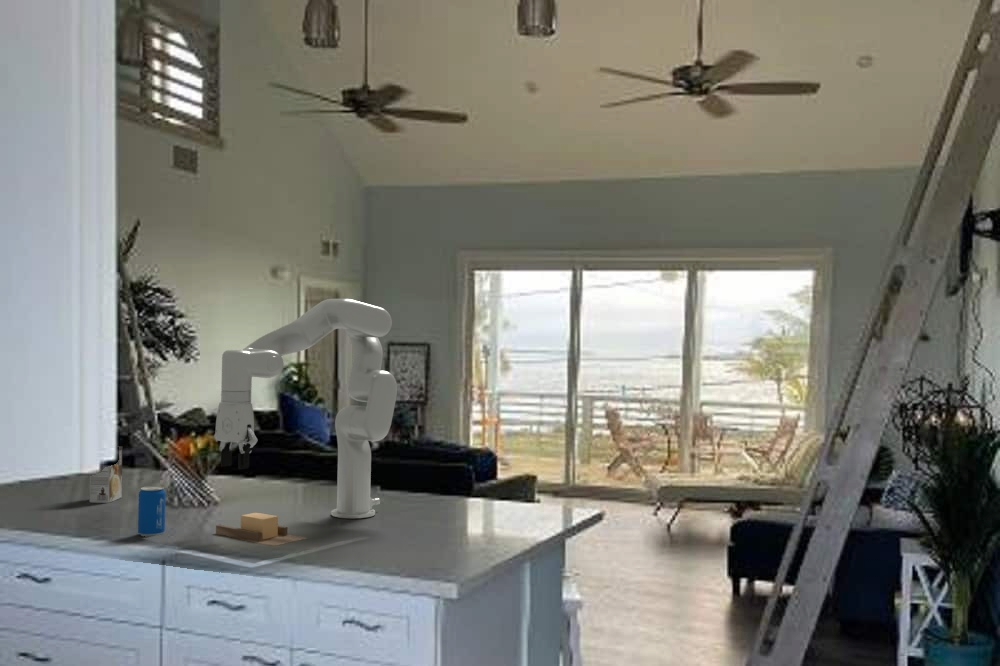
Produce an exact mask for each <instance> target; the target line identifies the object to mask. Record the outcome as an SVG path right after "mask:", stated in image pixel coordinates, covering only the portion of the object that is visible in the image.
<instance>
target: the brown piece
mask: <svg viewBox="0 0 1000 666" xmlns="http://www.w3.org/2000/svg"><path fill="white" fill-rule="evenodd" d="M216 535H222V536H227V537H229V538H230V539H237V540H242V541H246V542H250V543H256V544H262V545H265V546H272V547H276V546H280V545H284V544H289V543H293V542H298V541H301V540H302V541H303V540H306V539H308V537H306V536H300V535H294V534H289V533H288V526H284V525H278V536H276V537H271V538H267V539H262V533H261V532H256V531H250V530H245V529H241V527H240V528H239V527H233V526H229V525H224V524H223V525H222V524H217V525H215V533H214V536H216Z"/></svg>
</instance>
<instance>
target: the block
mask: <svg viewBox="0 0 1000 666" xmlns="http://www.w3.org/2000/svg"><path fill="white" fill-rule="evenodd" d="M278 526H279V516H278V515H273V514H272V515H271V514H268V513H262V512H261V513H260V512H252V513H247V514H241V515H240V528H241V529H245V530H250V531H256V532H261V533H262V539H267V538H271V537H276V536H278Z"/></svg>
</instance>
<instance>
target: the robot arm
mask: <svg viewBox="0 0 1000 666" xmlns="http://www.w3.org/2000/svg"><path fill="white" fill-rule="evenodd" d="M392 325H393V320H392V316H391V315H390V312H388V310H386V309H385V308H383V307H381V306H377V305H373V304H369V303H366V302H361V301H358V300H355V299H351V298H328V299H324V300H322V301H320V302H319V303H318V304H316V305H314V306H313V307H311V308H310V309H308V310H307V311H306V312H305V313H303V314H302V315H301V316H298V317H297V318H296V319H295V320H293V321H292V322H290V323H288V324H285V325H284V326H280V327H279V328H277V329H275V330H273V331H271V332H269V333H267V334H264V335H262V336H261V337H259V338H257V339H256V340H254V341H253V342H251V343H250V344H248V345H247V346H246V347H244V348H243V349H242V350H241V349H228V350H225V351H224V352H223V353H222V355H221V356H222V357H221V392H220V396H221V397H220V398H221V399H220V402H219V404H218V407H217V413H216V420H215V431H214V432H215V433H214V435H213V438H214V439H215V441H216V444H217V445H218V447H219V449H218V450H219V452H220V467H222V468H224V467H231V466H233V465H232V464H233V450H231V449H232V448H231V447H232V445H233V443H236V444H238V449H239V452H240V453H239V452H238V455H237V468H238V470H246V469H249V468H250V454H251V453H252V449H254V447H255V445H256V444H257V443H258V438H257V436H256V435H255V418H254V410H253V409H254V407H253V403H252V383H253V381H252V380H253V379H252V378H260V379H262V378H264V379H271V378H275V377H277V376H278V375H279V374H281V372H282V371H283V369H284V363H285V361H284V359H283V357H284V356H285V355H289V354H293V353H299V352H301V351H302V352H303V351H305V350H308V349H309V348H312V347H313V346H314V345H316V344H317V343H319V341H321V340H323V338H325V337H326V336H328V335H329V334H330V333H332V332H333V331H334V330H337V329H338V330H339V329H340V330H344V332H345V333H346V334H347V336H348V337H349V339H350V341H351V344H352V347H353V355H352V356H353V357H352V363H351V368H350V372H349V377H348V380H347V381H348V382H347V395H348V396H349V398H351V399H352V400H354V401H357V402H361V403H362V402H363V403H364V402H365V403H366V406H364V405H354V404H353V405H347V406H344V407H343V408H341V409H340V410H339V411H338V412H337V414H336V416H335V421H334V428H335V434H336V441H337V478H336V479H337V484H336V485H337V486H336V490H337V491H336V493H337V494H336V508H334V509H332V510H331V511H330V514H331V516H332V517H334V518H338V519H339V518H340V519H365V518H371V517H373V516H375V515H376V510H375V509H374V508H373V506H377V505H380V503H381V499H380V498H379V497H375V498H373V497H371V481H372V480H371V478H372V477H371V476H372V475H371V474H372V473H371V472H372V451H371V445H370V442H379V441H382V440H383V439H385V437H386V436H388V434H389V432H390V429H391V425H392V421H393V416H394V411H395V406H396V400H397V396H398V395H397V394H398V384H397V380H396V378H395V377H394V375H393V374H392V373H391V372H389V371H387V370H384V369H383V370H381V369H382V364H383V359H384V358H383V356H384V355H383V353H384V351H383V346H382V343H381V341H380V339H379V338H382V337H385V336H386V335H387V334H388V333H389V332H390V331H391V329H392ZM282 356H283V357H282Z"/></svg>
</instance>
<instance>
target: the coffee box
mask: <svg viewBox="0 0 1000 666" xmlns="http://www.w3.org/2000/svg"><path fill="white" fill-rule="evenodd" d="M118 447H119V460H118V462H117V463H116V464H114V465H111V466H108V467H105V468H104V469H103V470H102V472H101V473H99V474H96V475H92V476H90V475H89V503H96V504H97V503H99V504H101V503H103V504H110V503H111V502H112V503H113V502H115V501H117V500H119V499H122V498H123V497H122V496H123V495H122V494H123V493H122V492H123V446H118Z"/></svg>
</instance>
